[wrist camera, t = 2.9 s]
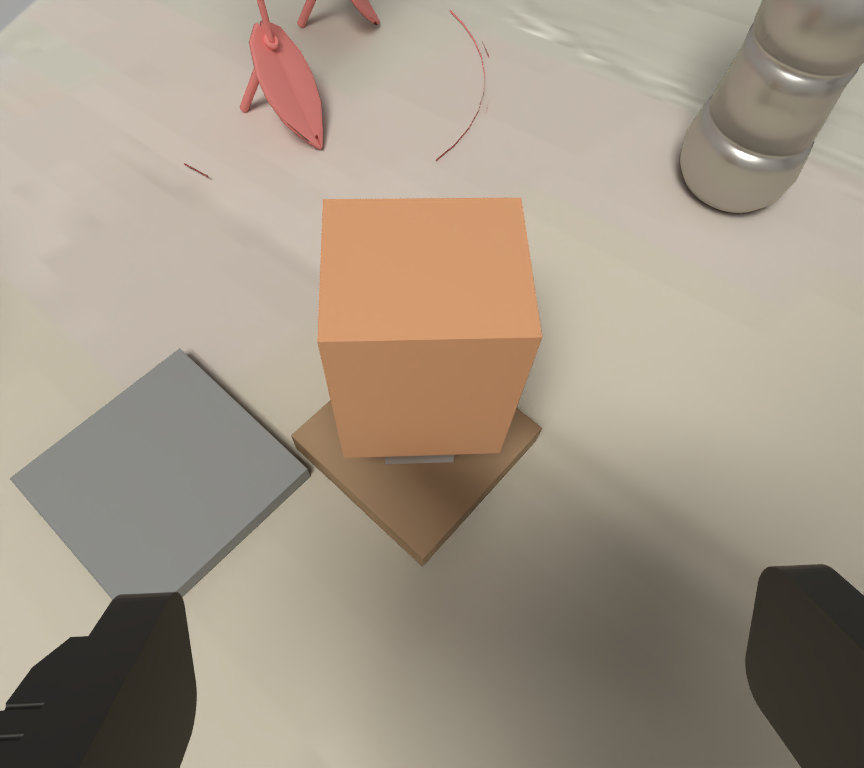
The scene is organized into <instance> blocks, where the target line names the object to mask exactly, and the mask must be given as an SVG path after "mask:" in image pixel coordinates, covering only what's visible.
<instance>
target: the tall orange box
mask: <svg viewBox="0 0 864 768" xmlns="http://www.w3.org/2000/svg"><path fill="white" fill-rule="evenodd" d="M541 339H542V333H541V326H540V320H539V313H538V306H537V300H536V293H535V287H534V280H533V273H532V267H531V260H530V253H529V247H528V240H527V233H526V227H525V220H524V213H523V207H522V200H521V198H422V199H323V213H322V239H321V264H320V290H319V316H318V341H317V342H318V347H319V351H320V355H321V360H322V364H323V369H324V373H325V377H326V382H327V386H328V391H329V395H330V399H331V404H332V408H333V412H334V417H335V421H336V426H337V430H338V434H339V439H340V443H341V448H342V452H343V456H344V458H360V457H392V456H424V455H456V454H487V453H500V451H501V449H502V446H503V443H504V440H505V438H506V435H507V432H508V429H509V427H510V424H511V421H512V418H513V416H514V413H515V410H516V408H517V405H518V402H519V399H520V397H521V394H522V391H523V388H524V386H525V383H526V380H527V377H528V375H529V372H530V369H531V366H532V364H533V361H534V358H535V356H536V353H537V350H538V347H539V345H540V342H541Z"/></svg>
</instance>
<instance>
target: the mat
mask: <svg viewBox="0 0 864 768" xmlns="http://www.w3.org/2000/svg"><path fill="white" fill-rule="evenodd" d="M309 477H310V474H309V472H308V469H307V468H306V467H305V466H304V465H303V464H302V463H301V462H300V461H298V460H297V459H296V458H295V457H294V456H293V455H292V454H291V453H290V452H289V451H288V450H287V449H286V448H285V447H284V446H283V445H282V444H280V443H279V442H278V441H277V440H276V439H275V438H274V437H273V436H272V435H271V434H270V433H269V432H268V431H267V430H266V429H265V428H264V427H262V426H261V425H260V424H259V423H258V422H257V421H256V420H255V419H254V418H253V417H252V416H251V415H250V414H249V413H248V412H247V411H246V410H244V409H243V408H242V407H241V406H240V405H239V404H238V403H237V402H236V401H235V400H234V399H233V398H232V397H231V396H230V395H229V394H228V393H226V392H225V391H224V390H223V389H222V388H221V387H220V386H219V385H218V384H217V383H216V382H215V381H214V380H213V379H212V378H211V377H210V376H208V375H207V374H206V373H205V372H204V371H203V370H202V369H201V368H200V367H199V366H198V365H197V364H196V363H195V362H194V361H193V360H192V359H190V358H189V357H188V356H187V355H186V354H185V353H184V352H183V351H182V350H181V349H178V350H177V351H176V352H174V353H173V354H172V355H170V356H169V357H168V358H166V359H165V360H164V361H163V362H161V363H160V364H159V365H157V366H156V367H155V368H153V369H152V370H151V371H149V372H148V373H147V374H146V375H144V376H143V377H142V378H140V379H139V380H138V381H136V382H135V383H134V384H132V385H131V386H130V387H129V388H127V389H126V390H125V391H123V392H122V393H121V394H119V395H118V396H117V397H115V398H114V399H113V400H112V401H110V402H109V403H108V404H106V405H105V406H104V407H102V408H101V409H100V410H98V411H97V412H96V413H95V414H93V415H92V416H91V417H89V418H88V419H87V420H85V421H84V422H83V423H81V424H80V425H79V426H78V427H76V428H75V429H74V430H72V431H71V432H70V433H68V434H67V435H66V436H64V437H63V438H62V439H61V440H59V441H58V442H57V443H55V444H54V445H53V446H51V447H50V448H49V449H48V450H46V451H45V452H44V453H42V454H41V455H40V456H38V457H37V458H36V459H34V460H33V461H32V462H31V463H29V464H28V465H27V466H25V467H24V468H23V469H21V470H20V471H19V472H17V473H16V474H15V475H14V476H12V477H11V478H10V480H11V481H12V482H13V483H14V484H15V485H16V487H17V488H18V489H19V490H20V491H21V493H22V494H23V495H24V496H25V497H26V498H27V500H28V501H29V502H30V503H31V504H32V506H33V507H34V508H35V509H36V510H37V511H38V513H39V514H40V515H41V516H42V517H43V518H44V520H45V521H46V522H47V523H48V524H49V526H50V527H51V528H52V529H53V530H54V531H55V533H56V534H57V535H58V536H59V537H60V539H61V540H62V541H63V542H64V543H65V544H66V546H67V547H68V548H69V549H70V550H71V551H72V553H73V554H74V555H75V556H76V557H77V559H78V560H79V561H80V562H81V563H82V564H83V566H84V567H85V568H86V569H87V570H88V572H89V573H90V574H91V575H92V576H93V577H94V579H95V580H96V581H97V582H98V583H99V584H100V586H101V587H102V588H103V589H104V590H105V592H106V593H107V594H108V595H109V596H110V597H111V599H112V600H113V599H114V598H115V597H116V596H118V595H120V594H142V593H164V592H178V593H180V595H181V596H182V597H183V596H184V595H185V594H186V593H187V592H188V591H189V590H190V589H191V588H192V587H193V586H194V585H195V584H196V583H198V582H199V581H200V580H201V579H202V578H203V577H204V576H205V575H206V574H207V573H208V572H209V571H210V570H211V569H212V568H213V567H215V566H216V565H217V564H218V563H219V562H220V561H221V560H222V559H223V558H224V557H225V556H226V555H227V554H228V553H229V552H230V551H232V550H233V549H234V548H235V547H236V546H237V545H238V544H239V543H240V542H241V541H242V540H243V539H244V538H245V537H246V536H247V535H249V534H250V533H251V532H252V531H253V530H254V529H255V528H256V527H257V526H258V525H259V524H260V523H261V522H262V521H263V520H264V519H266V518H267V517H268V516H269V515H270V514H271V513H272V512H273V511H274V510H275V509H276V508H277V507H278V506H279V505H280V504H281V503H283V502H284V501H285V500H286V499H287V498H288V497H289V496H290V495H291V494H292V493H293V492H294V491H295V490H296V489H297V488H298V487H300V486H301V485H302V484H303V483H304V482H305V481H306V480H307V479H308V478H309Z"/></svg>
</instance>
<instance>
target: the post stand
mask: <svg viewBox="0 0 864 768" xmlns="http://www.w3.org/2000/svg"><path fill="white" fill-rule="evenodd" d="M541 429H542V428H541V427H540V426H539V425H537V424H536V423H535V422H534V421H532V420H531V419H530V418H529V417H527V416H526V415H525V414H524V413H522V412H521V411H520V410H519V409H517V408H516V410H515V413H514V416H513V418H512V421H511V424H510V427H509V429H508V432H507V435H506V438H505V440H504V443H503V446H502V449H501V451H500V453H487V454H456V455H424V456H392V457H360V458H344V456H343V452H342V448H341V443H340V439H339V434H338V430H337V426H336V421H335V417H334V412H333V408H332V404H331V400H330V401H329V402H328V403H327V404H326V405H325V406H323V407H322V408H321V409H320V410H319V411H318V412H317V413H316V414H315V415H313V416H312V417H311V418H310V419H309V420H308V421H307V422H306V423H304V424H303V425H302V426H301V427H300V428H299V429H298V430H297V431H296V432H294V433H293V434H292V435H291V436H292V439H293V441H294V444H295V446H296V448H297V449H298V450H299V451H300V452H301V453H302V454H303V455H304V456H305V457H306V458H307V459H308V460H309V461H310V462H312V463H313V464H314V465H315V466H316V467H317V468H318V469H319V470H320V471H321V472H322V473H323V474H324V475H325V476H326V477H328V478H329V479H330V480H331V481H332V482H333V483H334V484H335V485H336V486H337V487H338V488H339V489H340V490H341V491H342V492H344V493H345V494H346V495H347V496H348V497H349V498H350V499H351V500H352V501H353V502H354V503H355V504H356V505H357V506H358V507H360V508H361V509H362V510H363V511H364V512H365V513H366V514H367V515H368V516H369V517H370V518H371V519H372V520H373V521H374V522H376V523H377V524H378V525H379V526H380V527H381V528H382V529H383V530H384V531H385V532H386V533H387V534H388V535H389V536H390V537H392V538H393V539H394V540H395V541H396V542H397V543H398V544H399V545H400V546H401V547H402V548H403V549H404V550H405V551H406V552H408V553H409V554H410V555H411V556H412V557H413V558H414V559H415V560H416V561H417V562H418V563H419V564H420V565H421V566H423V565H424V564H425V563H426V562H427V561H428V560H429V559H430V557H431V556H432V555H433V554H434V553H435V552H436V551H437V550H438V549H439V548H440V546H441V545H442V544H443V543H444V542H445V541H446V540H447V539H448V538H449V536H450V535H451V534H452V533H453V532H454V531H455V530H456V529H457V528H458V526H459V525H460V524H461V523H462V522H463V521H464V520H465V519H466V518H467V517H468V515H469V514H470V513H471V512H472V511H473V510H474V509H475V508H476V507H477V505H478V504H479V503H480V502H481V501H482V500H483V499H484V498H485V497H486V495H487V494H488V493H489V492H490V491H491V490H492V489H493V488H494V487H495V486H496V484H497V483H498V482H499V481H500V480H501V479H502V478H503V477H504V476H505V474H506V473H507V472H508V471H509V470H510V469H511V468H512V467H513V466H514V464H515V463H516V462H517V461H518V460H519V459H520V458H521V457H522V456H523V455H524V453H525V452H526V451H527V450H528V449H529V448H530V447H531V446H532V445H533V443H534V442H535V441H536V440H537V438H538V435H539V433H540V431H541Z"/></svg>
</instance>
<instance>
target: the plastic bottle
mask: <svg viewBox="0 0 864 768" xmlns="http://www.w3.org/2000/svg"><path fill="white" fill-rule="evenodd" d="M863 63H864V0H762V2H761V4H760V7H759V9H758V11H757V13H756V16H755V19H754V22H753V24H752V26H751V27H750V29H749V32H748V34H747V36H746V39H745V41H744V43H743V45H742V47H741V49H740V51H739V52H738V54H737V56H736V57H735V59H734V61H733V62H732V64H731V66H730V67H729V69H728V71H727V72H726V74H725V76H724V78H723V79H722V81H721V83H720V84H719V86H718V88H717V89H716V91H715V93H714V94H713V95H712V96H711V97H710V98H709V99H708V101H707V102H706V103H705V104H704V106H703V107H702V109H701V110H700V112H699V113H698V115H697V116H696V118H695V119H694V121H693V122H692V124H691V125H690V127H689V129H688V130H687V133H686V137H685V141H684V144H683V148H682V152H681V156H680V165H681V169H682V173H683V176H684V180H685V182H686V184H687V186H688V188H689V189H690V190H691V191H692V193H693V194H694V195H695V196H697V197H698V198H699V199H700V200H701V201H703V202H704V203H706V204H708V205H710V206H712V207H714V208H716V209H719V210H722V211H726V212H732V213H745V212H751V211H754V210H758V209H761V208H764V207H767V206H769V205H770V204H772V203H774V202H775V201H776V200H777V199H778V198H779V197H780V196H781V195H782V194H783V193H784V192H785V191H787V190H788V189H789V188H790V187H791V186H792V184H793V183H794V182H795V181H796V180H797V178H798V176H799V174H800V172H801V170H802V168H803V166H804V164H805V162H806V160H807V158H808V156H809V154H810V152H811V149H812V147H813V144H814V140H815V138H816V137H817V135H818V133H819V131H820V130H821V128H822V126H823V125H824V123H825V121H826V119H827V118H828V116H829V114H830V112H831V111H832V109H833V107H834V106H835V104H836V102H837V100H838V99H839V97H840V95H841V93H842V92H843V90H844V88H845V87H846V86H847V84H848V83H849V82H850V81H851V79H852V78H853V77H854V75H855V74H856V73H857V71H858V69H859V67H860V66H861V65H862V64H863Z"/></svg>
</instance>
